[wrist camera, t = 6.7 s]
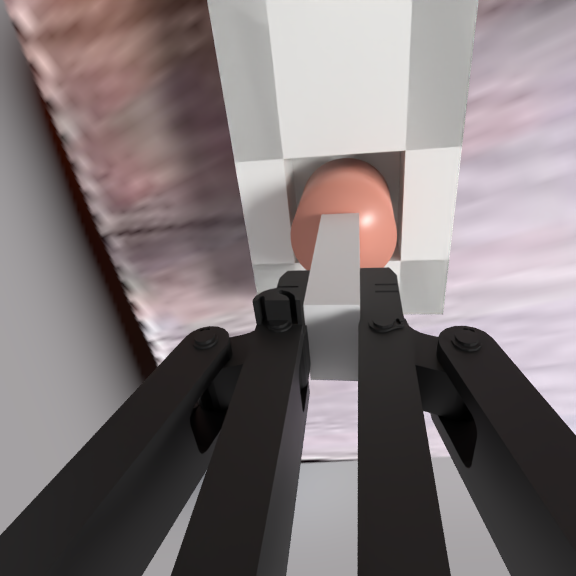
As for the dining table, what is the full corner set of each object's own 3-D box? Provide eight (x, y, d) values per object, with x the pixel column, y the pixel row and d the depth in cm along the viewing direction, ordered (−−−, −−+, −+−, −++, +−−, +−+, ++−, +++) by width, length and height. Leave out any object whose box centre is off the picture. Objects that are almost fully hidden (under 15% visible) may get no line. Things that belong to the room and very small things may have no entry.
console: (189, -304, 14) (138, -405, 11) (491, -391, 13) (539, -542, 9) (272, 279, 27) (260, 314, 24) (431, 276, 25) (442, 314, 22)
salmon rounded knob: (298, 161, 20) (285, 190, 16) (391, 154, 19) (398, 184, 16) (305, 242, 22) (295, 284, 19) (389, 239, 21) (395, 283, 18)
